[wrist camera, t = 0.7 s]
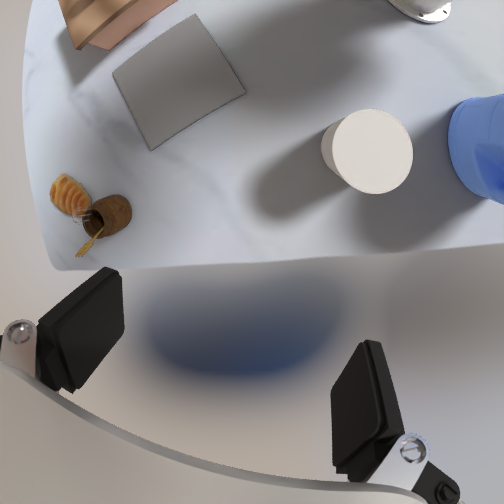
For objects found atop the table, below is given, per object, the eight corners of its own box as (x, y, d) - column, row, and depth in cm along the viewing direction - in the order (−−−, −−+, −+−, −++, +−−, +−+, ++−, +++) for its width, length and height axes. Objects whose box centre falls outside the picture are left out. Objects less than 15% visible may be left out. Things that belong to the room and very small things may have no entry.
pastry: (97, 189, 42) (83, 194, 38) (90, 222, 44) (77, 229, 41) (64, 170, 41) (50, 174, 38) (58, 202, 44) (45, 207, 41)
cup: (318, 173, 36) (327, 187, 25) (323, 115, 33) (335, 102, 22) (375, 182, 35) (406, 200, 24) (381, 125, 32) (416, 119, 21)
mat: (196, 14, 29) (195, 13, 28) (246, 92, 33) (245, 92, 32) (113, 73, 33) (112, 72, 33) (152, 150, 38) (151, 150, 37)
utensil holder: (129, 190, 41) (81, 209, 30) (136, 228, 43) (92, 256, 32) (102, 195, 42) (54, 215, 31) (110, 230, 44) (65, 257, 33)
